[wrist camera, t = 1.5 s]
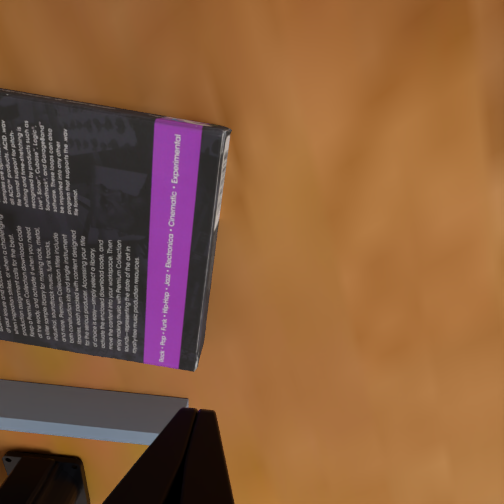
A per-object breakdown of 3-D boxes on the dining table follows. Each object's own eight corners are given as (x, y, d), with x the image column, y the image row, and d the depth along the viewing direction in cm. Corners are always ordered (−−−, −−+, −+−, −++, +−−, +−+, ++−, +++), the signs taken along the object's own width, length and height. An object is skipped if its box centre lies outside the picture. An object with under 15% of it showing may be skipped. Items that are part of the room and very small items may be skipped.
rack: (188, 410, 25) (178, 448, 22) (-48, 386, 25) (-87, 420, 23) (191, -94, 14) (171, -144, 11) (-239, -128, 14) (-366, -187, 11)
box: (235, 126, 18) (-144, 57, 17) (229, 130, 15) (-239, 44, 14) (205, 337, 23) (-83, 292, 22) (196, 374, 20) (-141, 323, 19)
